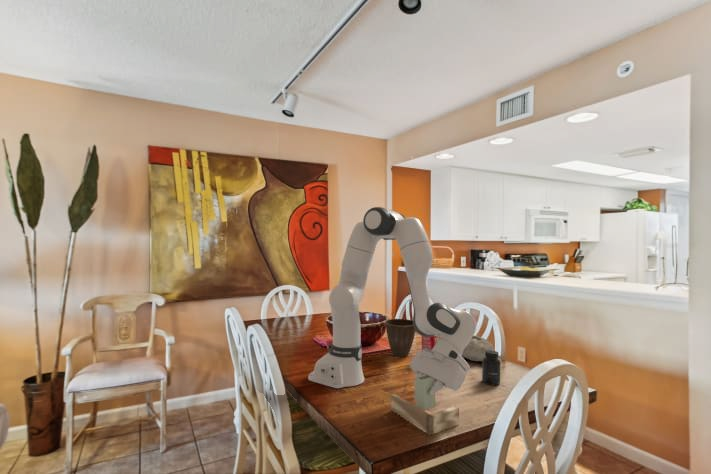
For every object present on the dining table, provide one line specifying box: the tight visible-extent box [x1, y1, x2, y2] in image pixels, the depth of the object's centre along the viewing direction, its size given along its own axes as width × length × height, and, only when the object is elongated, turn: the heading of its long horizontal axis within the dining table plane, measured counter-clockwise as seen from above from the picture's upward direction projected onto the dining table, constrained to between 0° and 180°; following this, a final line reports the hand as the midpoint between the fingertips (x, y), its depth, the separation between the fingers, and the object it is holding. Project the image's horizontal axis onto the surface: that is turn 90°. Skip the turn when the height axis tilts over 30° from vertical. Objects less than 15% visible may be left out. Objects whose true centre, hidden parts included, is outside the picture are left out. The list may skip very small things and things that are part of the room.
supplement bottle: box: [481, 350, 502, 386], centre depth 146 cm, size 7×7×12 cm
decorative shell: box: [462, 335, 495, 362], centre depth 174 cm, size 18×18×10 cm
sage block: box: [414, 374, 436, 411], centre depth 117 cm, size 4×4×9 cm
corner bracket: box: [390, 393, 460, 436], centre depth 117 cm, size 12×18×5 cm, turn 32°
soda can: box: [421, 334, 439, 350], centre depth 168 cm, size 7×7×13 cm
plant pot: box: [384, 318, 416, 358], centre depth 179 cm, size 15×15×16 cm
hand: (423, 391), depth 117 cm, fingers closed on sage block, 4 cm apart
